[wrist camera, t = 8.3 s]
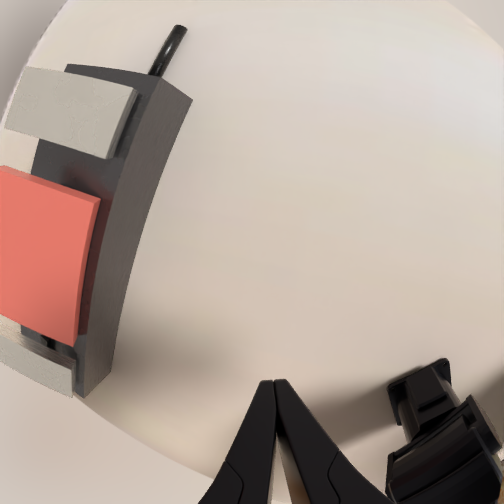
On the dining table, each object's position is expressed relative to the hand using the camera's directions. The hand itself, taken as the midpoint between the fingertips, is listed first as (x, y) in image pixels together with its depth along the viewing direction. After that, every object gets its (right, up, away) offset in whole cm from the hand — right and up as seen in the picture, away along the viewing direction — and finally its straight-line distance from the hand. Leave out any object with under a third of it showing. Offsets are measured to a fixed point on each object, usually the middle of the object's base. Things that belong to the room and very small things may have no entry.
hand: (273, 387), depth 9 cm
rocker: (-17, +4, +8) cm, 19 cm away
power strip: (-14, +8, +14) cm, 22 cm away
